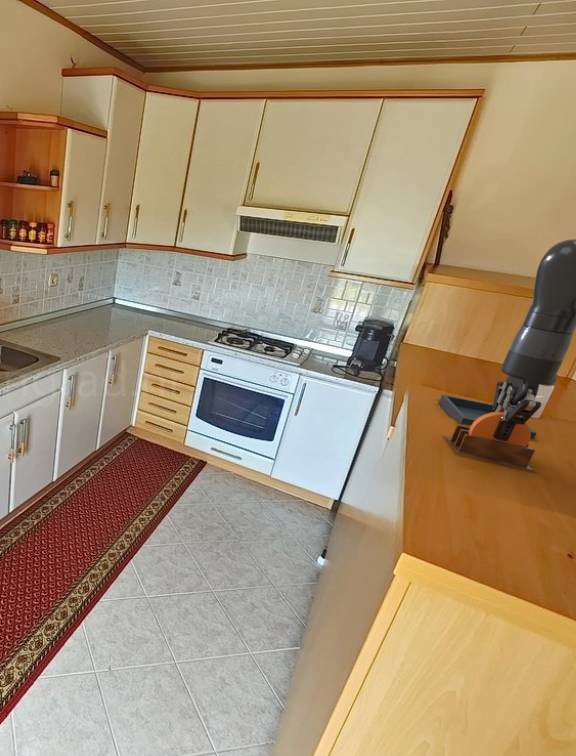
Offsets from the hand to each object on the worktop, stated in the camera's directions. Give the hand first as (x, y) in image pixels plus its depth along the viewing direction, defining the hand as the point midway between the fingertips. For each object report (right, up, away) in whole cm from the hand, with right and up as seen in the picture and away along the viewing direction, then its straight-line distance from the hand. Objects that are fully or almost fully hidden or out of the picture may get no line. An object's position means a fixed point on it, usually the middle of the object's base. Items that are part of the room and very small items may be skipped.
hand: (497, 436), depth 95 cm
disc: (0, -4, +1) cm, 4 cm away
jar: (+32, +2, +31) cm, 44 cm away
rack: (0, -5, +3) cm, 5 cm away
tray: (+16, +1, +22) cm, 28 cm away
